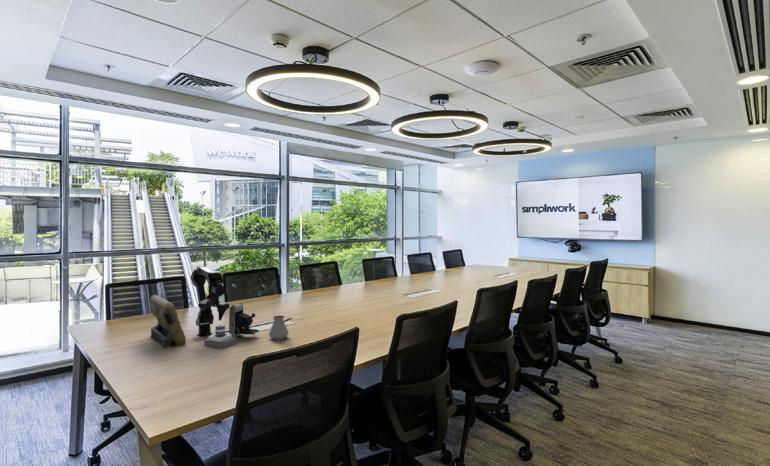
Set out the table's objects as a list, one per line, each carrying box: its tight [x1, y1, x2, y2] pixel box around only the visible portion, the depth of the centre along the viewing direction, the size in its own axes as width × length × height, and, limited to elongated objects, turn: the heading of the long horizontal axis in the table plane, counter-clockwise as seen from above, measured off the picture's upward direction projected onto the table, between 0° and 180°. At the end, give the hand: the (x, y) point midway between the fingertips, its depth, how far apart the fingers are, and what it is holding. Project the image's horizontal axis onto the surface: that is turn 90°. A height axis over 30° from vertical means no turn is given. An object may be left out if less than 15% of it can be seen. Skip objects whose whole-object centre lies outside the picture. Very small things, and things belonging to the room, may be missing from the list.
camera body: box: [203, 332, 238, 349], centre depth 224 cm, size 14×10×5 cm
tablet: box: [149, 294, 187, 348], centre depth 231 cm, size 33×14×25 cm, turn 49°
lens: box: [214, 324, 226, 338], centre depth 224 cm, size 5×5×7 cm
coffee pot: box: [268, 315, 294, 341], centre depth 233 cm, size 21×12×15 cm, turn 42°
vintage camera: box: [228, 302, 261, 339], centre depth 237 cm, size 10×15×20 cm, turn 79°
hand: (213, 319), depth 231 cm, fingers open, 9 cm apart
